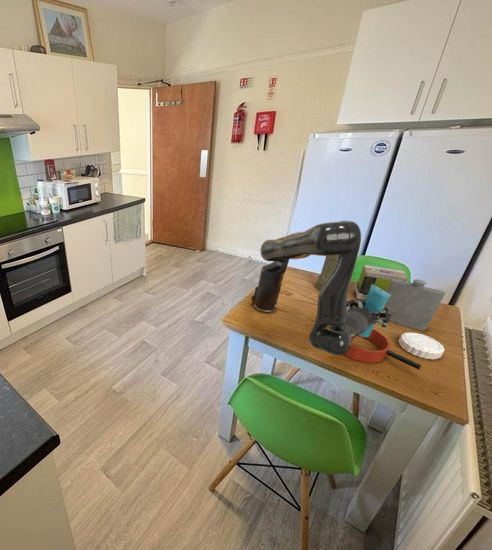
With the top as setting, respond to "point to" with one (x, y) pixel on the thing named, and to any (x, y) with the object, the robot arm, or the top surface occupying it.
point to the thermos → (327, 270)
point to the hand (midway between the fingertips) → (375, 305)
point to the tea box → (376, 279)
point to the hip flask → (412, 303)
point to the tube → (374, 304)
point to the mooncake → (421, 345)
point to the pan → (380, 354)
